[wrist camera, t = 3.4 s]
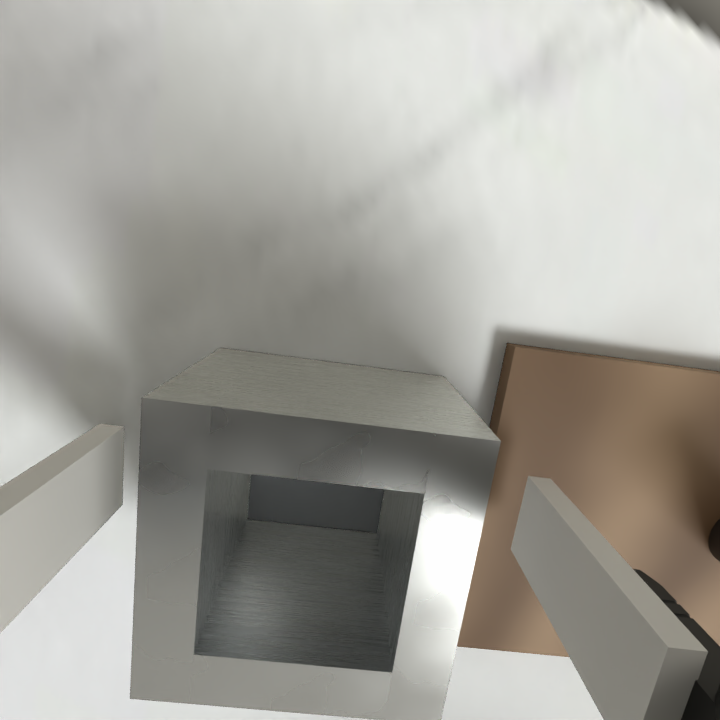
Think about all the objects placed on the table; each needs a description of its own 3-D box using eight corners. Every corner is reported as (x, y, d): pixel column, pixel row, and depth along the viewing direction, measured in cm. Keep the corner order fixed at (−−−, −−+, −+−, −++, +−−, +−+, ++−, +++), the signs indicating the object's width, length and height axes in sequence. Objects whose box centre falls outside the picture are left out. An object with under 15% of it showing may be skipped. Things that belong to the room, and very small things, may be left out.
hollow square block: (204, 550, 17) (129, 698, 11) (220, 347, 15) (141, 397, 10) (408, 571, 17) (439, 724, 12) (444, 376, 16) (500, 441, 10)
